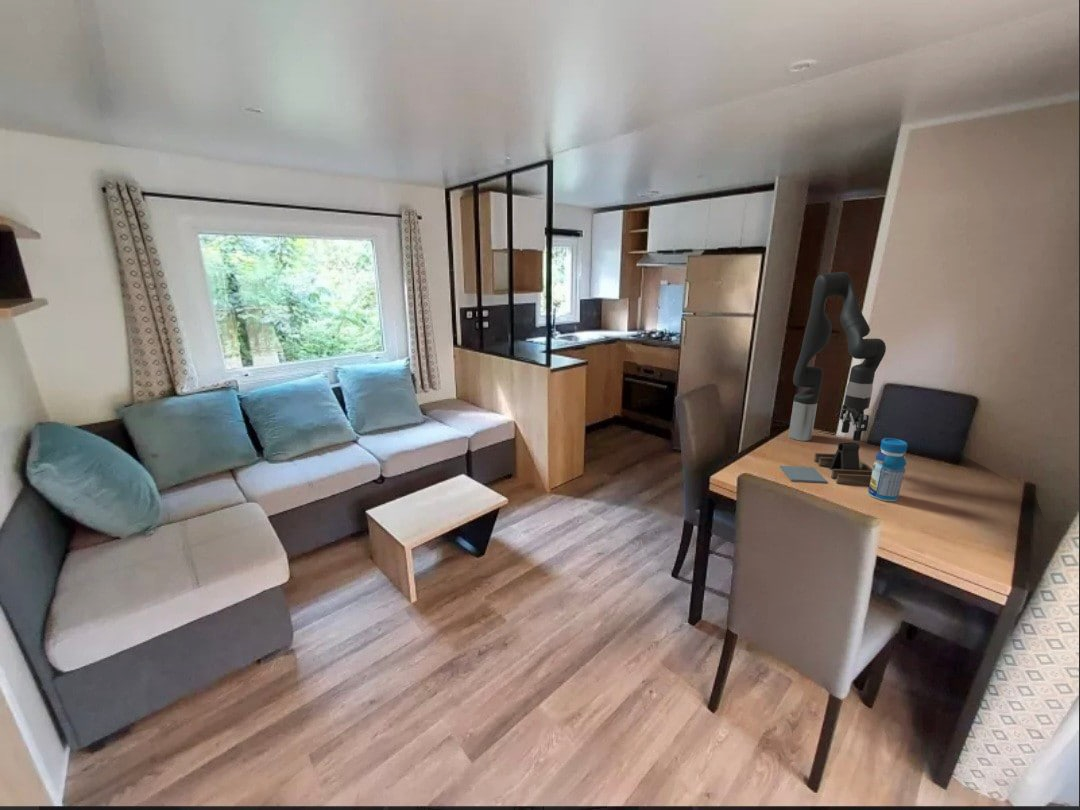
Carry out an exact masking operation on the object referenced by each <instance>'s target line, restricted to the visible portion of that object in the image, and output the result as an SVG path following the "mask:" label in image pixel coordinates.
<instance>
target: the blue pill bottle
mask: <svg viewBox="0 0 1080 810" xmlns="http://www.w3.org/2000/svg"><path fill="white" fill-rule="evenodd" d="M879 448H880V451H879V452H878V453H877V454H876V455H875V457H874V459H875V461H874V462H873V464H872V469H873V471H872V476H871V480H870V485H868V490H867V493H868V495H870V497H872V498H874V499H876V500H879V501H884V502H896V501H897V500H898V499H899V494H900V491H901V486H902V484H903V483H902V482H903V479H904V475H905V472H906V468H905V467H906V465H907V458H906V456H905V454H906V453H907V450H908V443H907V442H906V441H905V440H902V439H898V438H894V437H893V438H891V437H884V438H882V439H881V442H880V447H879Z"/></svg>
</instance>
